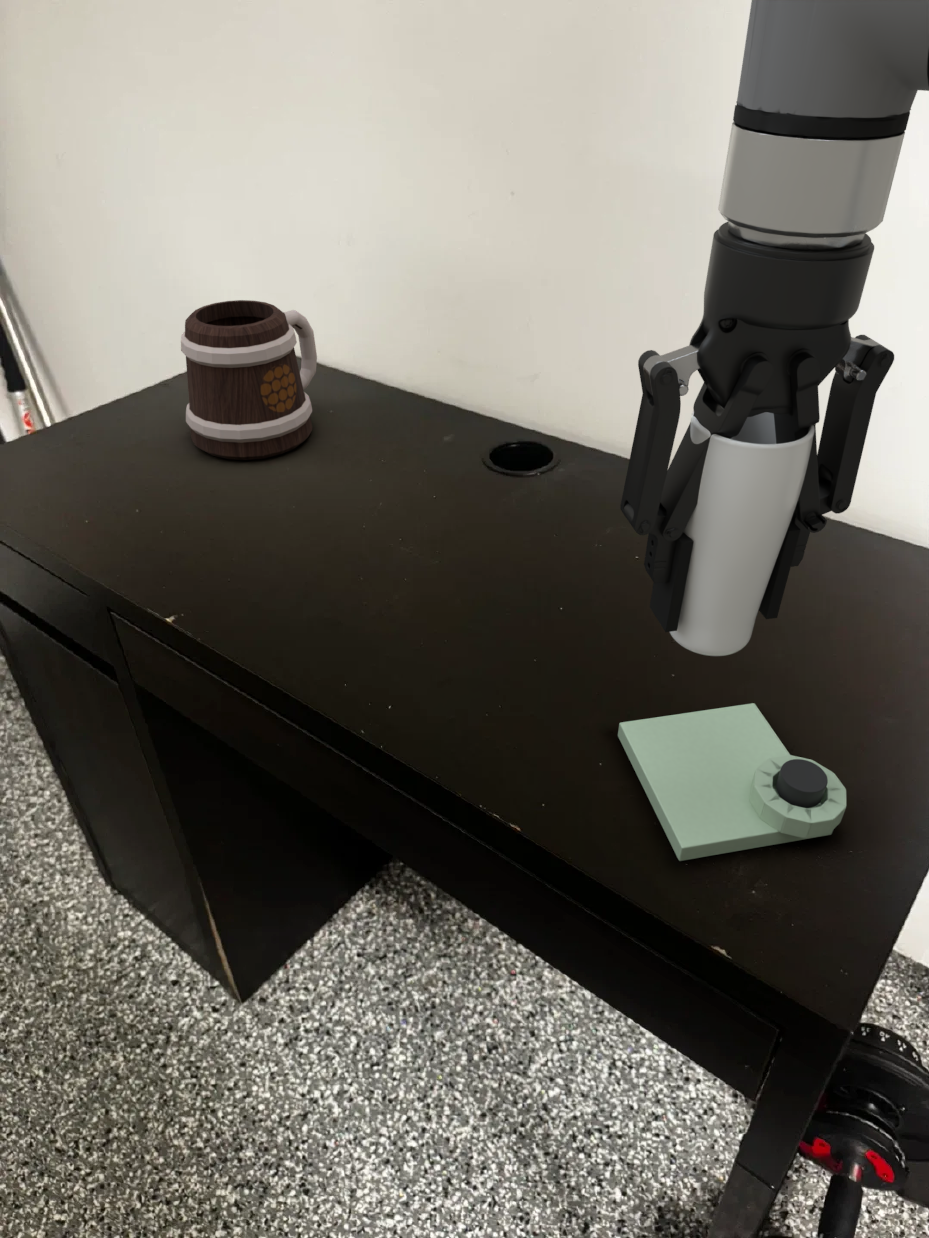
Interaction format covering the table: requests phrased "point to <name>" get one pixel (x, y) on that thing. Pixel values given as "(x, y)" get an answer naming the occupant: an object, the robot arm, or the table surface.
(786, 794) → the button
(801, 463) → the drinking glass
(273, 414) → the mug
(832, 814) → the scale
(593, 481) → the table surface
